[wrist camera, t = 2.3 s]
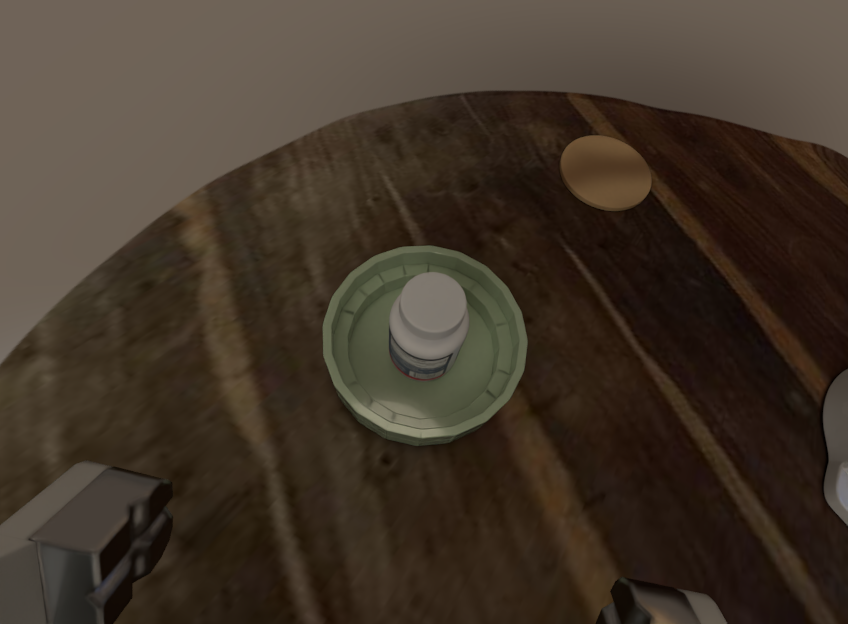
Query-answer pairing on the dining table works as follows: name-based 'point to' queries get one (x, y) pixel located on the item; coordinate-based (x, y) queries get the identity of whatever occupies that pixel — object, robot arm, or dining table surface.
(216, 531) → the dining table surface
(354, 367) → the bowl
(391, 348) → the pill bottle
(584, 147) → the coaster
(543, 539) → the dining table surface
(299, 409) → the dining table surface
